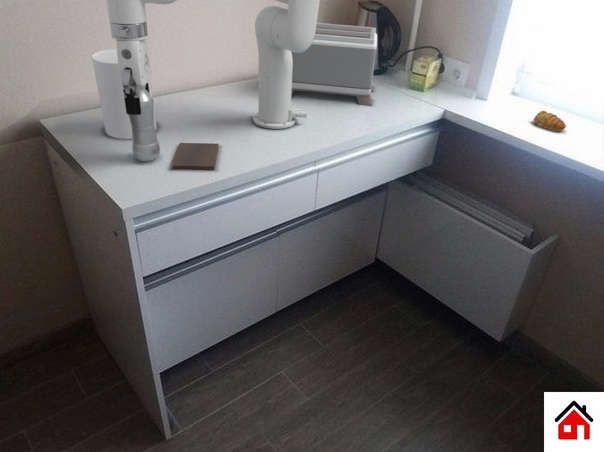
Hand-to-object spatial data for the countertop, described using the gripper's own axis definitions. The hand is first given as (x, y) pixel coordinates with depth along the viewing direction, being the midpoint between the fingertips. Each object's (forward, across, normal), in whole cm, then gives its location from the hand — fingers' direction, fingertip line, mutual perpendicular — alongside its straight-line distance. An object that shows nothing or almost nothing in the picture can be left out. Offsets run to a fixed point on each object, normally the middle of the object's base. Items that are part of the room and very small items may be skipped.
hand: (138, 106), depth 116 cm
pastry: (+12, +28, -118) cm, 122 cm away
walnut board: (+14, +1, -12) cm, 18 cm away
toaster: (+13, +54, -50) cm, 75 cm away
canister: (+14, +18, +8) cm, 24 cm away
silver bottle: (+14, 0, 0) cm, 14 cm away
